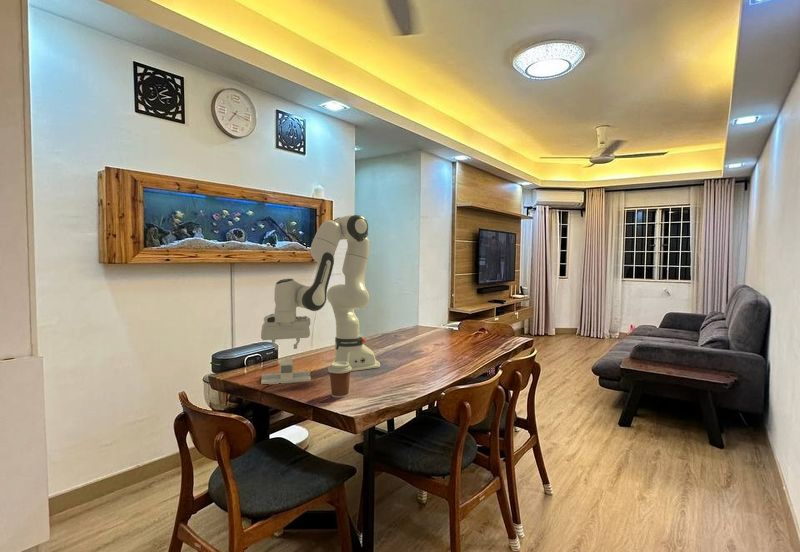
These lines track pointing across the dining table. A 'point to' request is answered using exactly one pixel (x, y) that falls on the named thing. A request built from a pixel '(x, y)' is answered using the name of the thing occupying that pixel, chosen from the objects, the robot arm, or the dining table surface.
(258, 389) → the dining table surface
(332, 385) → the coffee cup
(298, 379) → the rail plate
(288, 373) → the block
